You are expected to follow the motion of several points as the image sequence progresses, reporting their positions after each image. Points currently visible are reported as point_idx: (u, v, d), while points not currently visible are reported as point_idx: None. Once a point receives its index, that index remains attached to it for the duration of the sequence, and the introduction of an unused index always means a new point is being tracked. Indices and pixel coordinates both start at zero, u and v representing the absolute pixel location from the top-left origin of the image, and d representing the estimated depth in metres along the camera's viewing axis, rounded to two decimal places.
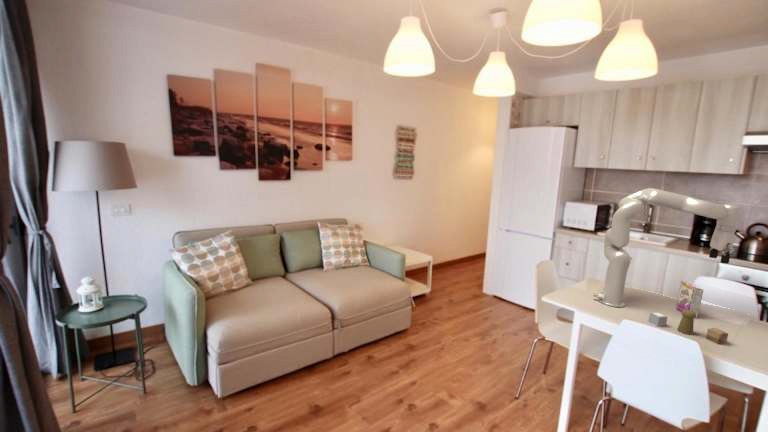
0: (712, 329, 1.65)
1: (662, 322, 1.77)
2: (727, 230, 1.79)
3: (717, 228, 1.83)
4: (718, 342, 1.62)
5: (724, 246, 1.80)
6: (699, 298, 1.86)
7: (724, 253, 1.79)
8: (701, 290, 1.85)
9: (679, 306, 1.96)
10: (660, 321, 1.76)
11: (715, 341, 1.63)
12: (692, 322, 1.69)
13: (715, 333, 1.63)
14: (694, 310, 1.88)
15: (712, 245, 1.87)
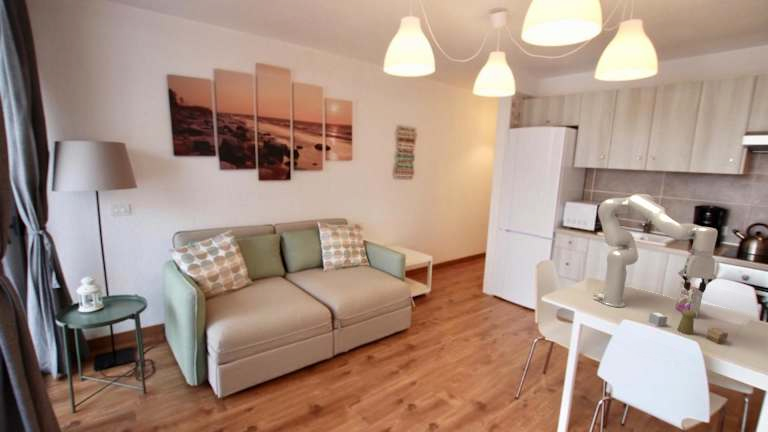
0: (712, 329, 1.65)
1: (662, 322, 1.77)
2: None
3: (707, 256, 1.61)
4: (718, 342, 1.62)
5: None
6: (699, 298, 1.86)
7: (708, 282, 1.65)
8: None
9: (679, 306, 1.96)
10: (660, 321, 1.76)
11: (715, 341, 1.63)
12: (692, 322, 1.69)
13: (715, 333, 1.63)
14: (694, 310, 1.88)
15: (696, 275, 1.65)
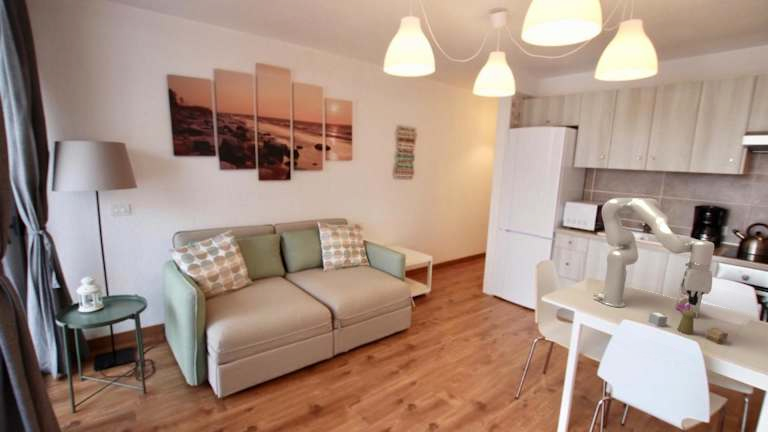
0: (712, 329, 1.65)
1: (662, 322, 1.77)
2: None
3: (705, 270, 1.63)
4: (718, 342, 1.62)
5: None
6: (699, 298, 1.86)
7: None
8: None
9: (679, 306, 1.96)
10: (660, 321, 1.76)
11: (715, 341, 1.63)
12: (692, 322, 1.69)
13: (715, 333, 1.63)
14: (694, 310, 1.88)
15: (694, 288, 1.66)
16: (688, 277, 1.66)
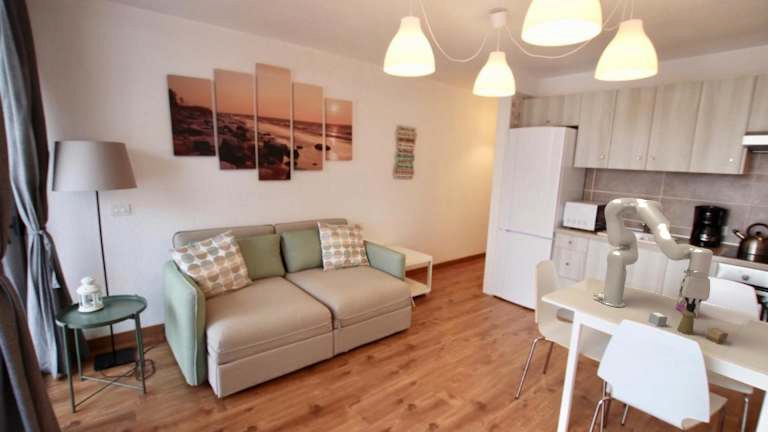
0: (712, 329, 1.65)
1: (662, 322, 1.77)
2: None
3: (703, 277, 1.63)
4: (718, 342, 1.62)
5: None
6: None
7: None
8: None
9: (679, 306, 1.96)
10: (660, 321, 1.76)
11: (715, 341, 1.63)
12: (692, 322, 1.69)
13: (715, 333, 1.63)
14: (694, 310, 1.88)
15: (691, 295, 1.66)
16: (686, 284, 1.67)
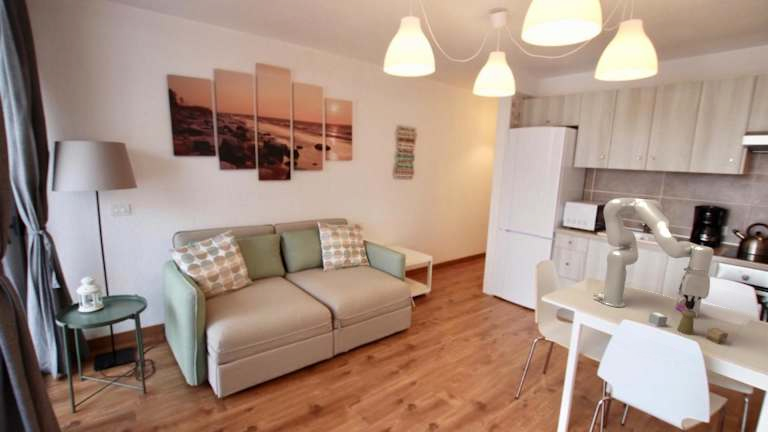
0: (712, 329, 1.65)
1: (662, 322, 1.77)
2: None
3: (703, 275, 1.63)
4: (718, 342, 1.62)
5: None
6: None
7: None
8: None
9: (679, 306, 1.96)
10: (660, 321, 1.76)
11: (715, 341, 1.63)
12: (692, 322, 1.69)
13: (715, 333, 1.63)
14: (694, 310, 1.88)
15: (691, 293, 1.67)
16: (686, 282, 1.67)
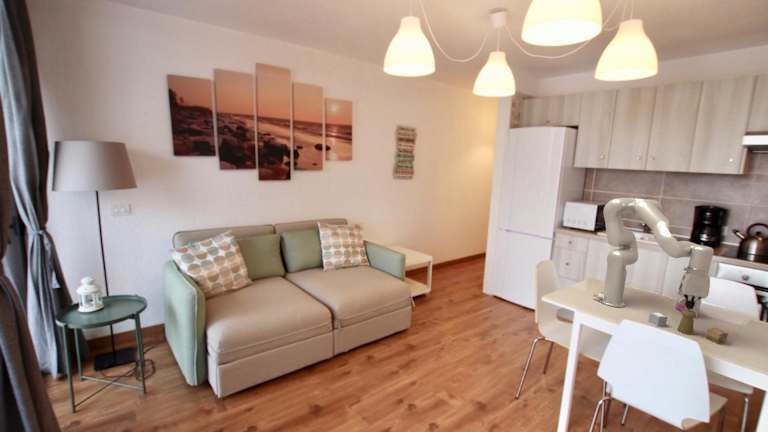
0: (712, 329, 1.65)
1: (662, 322, 1.77)
2: None
3: (703, 275, 1.63)
4: (718, 342, 1.62)
5: None
6: None
7: None
8: None
9: (679, 306, 1.96)
10: (660, 321, 1.76)
11: (715, 341, 1.63)
12: (692, 322, 1.69)
13: (715, 333, 1.63)
14: (694, 310, 1.88)
15: (691, 293, 1.67)
16: (686, 282, 1.67)
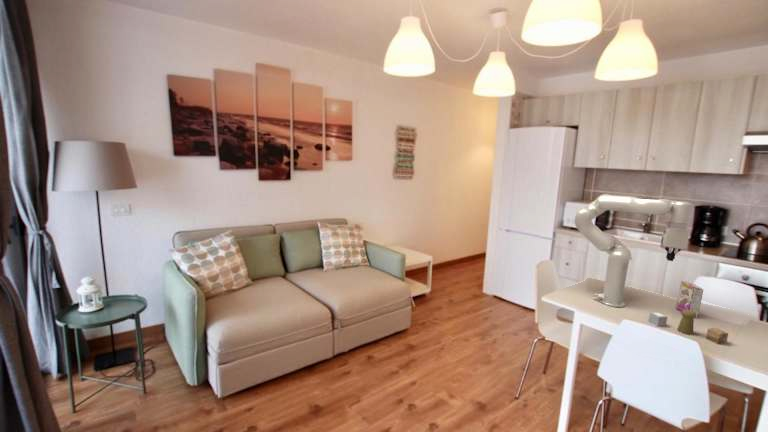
0: (712, 329, 1.65)
1: (662, 322, 1.77)
2: (686, 227, 1.79)
3: (682, 227, 1.77)
4: (718, 342, 1.62)
5: None
6: (699, 298, 1.86)
7: (677, 252, 1.81)
8: (701, 290, 1.85)
9: (679, 306, 1.96)
10: (660, 321, 1.76)
11: (715, 341, 1.63)
12: (692, 322, 1.69)
13: (715, 333, 1.63)
14: (694, 310, 1.88)
15: (671, 245, 1.80)
16: (666, 235, 1.81)
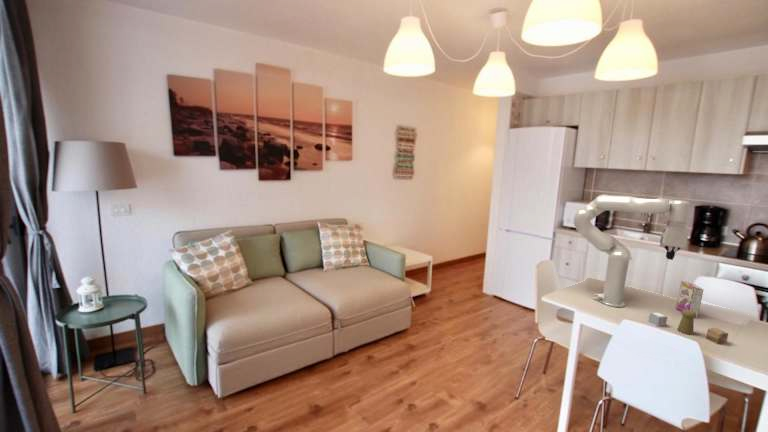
0: (712, 329, 1.65)
1: (662, 322, 1.77)
2: (685, 226, 1.79)
3: (681, 226, 1.78)
4: (718, 342, 1.62)
5: None
6: (699, 298, 1.86)
7: (676, 251, 1.82)
8: (701, 290, 1.85)
9: (679, 306, 1.96)
10: (660, 321, 1.76)
11: (715, 341, 1.63)
12: (692, 322, 1.69)
13: (715, 333, 1.63)
14: (694, 310, 1.88)
15: (671, 243, 1.81)
16: (666, 233, 1.81)
